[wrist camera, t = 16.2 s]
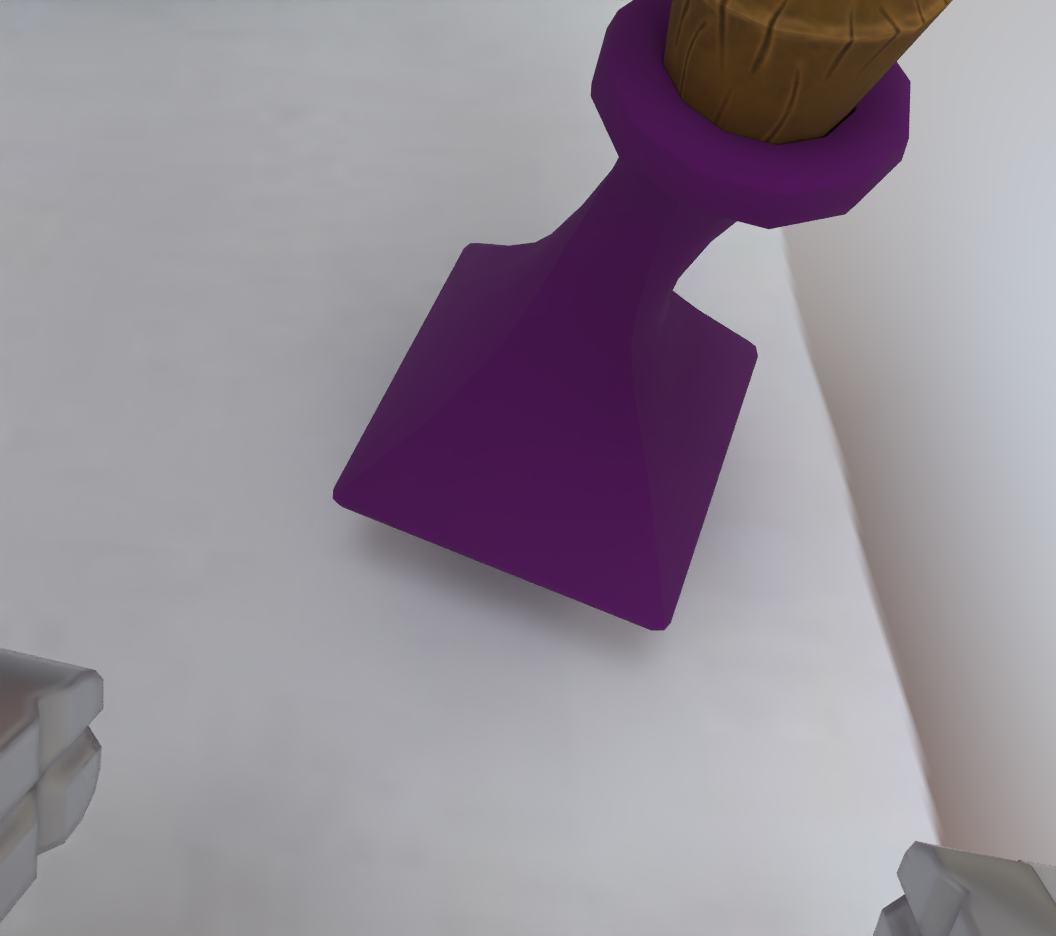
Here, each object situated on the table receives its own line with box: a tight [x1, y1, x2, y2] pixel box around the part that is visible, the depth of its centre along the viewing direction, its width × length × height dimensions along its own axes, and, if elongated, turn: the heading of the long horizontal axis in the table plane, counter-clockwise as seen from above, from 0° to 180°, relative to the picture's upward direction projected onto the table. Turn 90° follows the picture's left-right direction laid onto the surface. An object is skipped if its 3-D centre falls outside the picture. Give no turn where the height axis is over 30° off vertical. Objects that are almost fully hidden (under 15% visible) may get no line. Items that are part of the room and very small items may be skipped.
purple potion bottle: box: [333, 0, 952, 630], centre depth 15 cm, size 8×8×18 cm
